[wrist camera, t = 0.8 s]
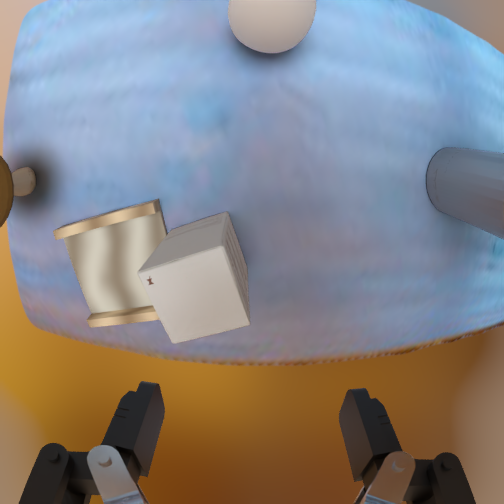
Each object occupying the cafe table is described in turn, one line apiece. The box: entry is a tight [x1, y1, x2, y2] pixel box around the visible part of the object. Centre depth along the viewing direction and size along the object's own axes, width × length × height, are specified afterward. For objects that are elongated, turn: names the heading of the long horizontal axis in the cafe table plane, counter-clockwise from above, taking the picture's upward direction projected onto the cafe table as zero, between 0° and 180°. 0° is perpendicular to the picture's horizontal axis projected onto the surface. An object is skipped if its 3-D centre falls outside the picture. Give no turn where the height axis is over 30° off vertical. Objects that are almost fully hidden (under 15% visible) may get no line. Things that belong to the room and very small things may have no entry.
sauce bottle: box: [228, 0, 316, 53], centre depth 18 cm, size 8×8×18 cm
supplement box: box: [137, 212, 250, 344], centre depth 28 cm, size 7×7×13 cm
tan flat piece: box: [53, 199, 167, 327], centre depth 33 cm, size 14×14×2 cm
